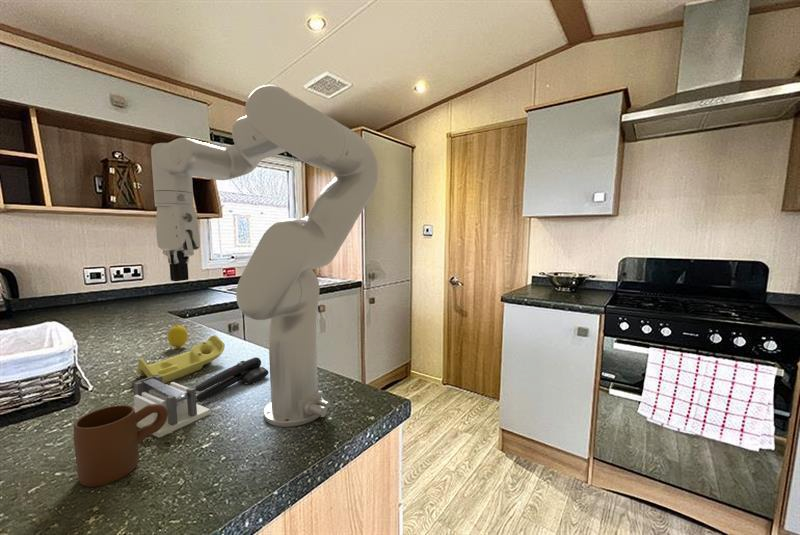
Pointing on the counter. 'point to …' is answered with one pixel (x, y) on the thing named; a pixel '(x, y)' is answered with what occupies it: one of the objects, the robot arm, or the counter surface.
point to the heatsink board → (168, 406)
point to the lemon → (177, 336)
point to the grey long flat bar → (166, 389)
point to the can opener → (232, 377)
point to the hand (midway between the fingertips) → (179, 280)
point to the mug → (112, 442)
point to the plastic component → (184, 361)
